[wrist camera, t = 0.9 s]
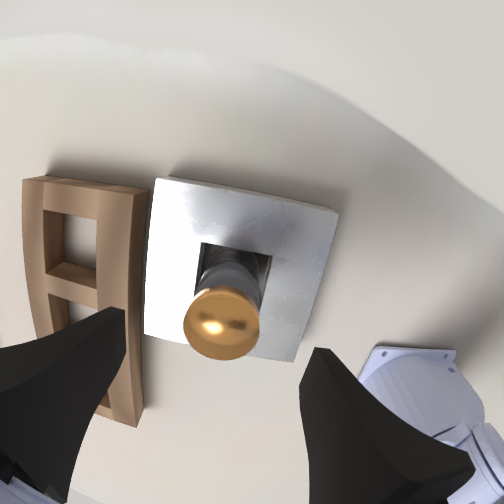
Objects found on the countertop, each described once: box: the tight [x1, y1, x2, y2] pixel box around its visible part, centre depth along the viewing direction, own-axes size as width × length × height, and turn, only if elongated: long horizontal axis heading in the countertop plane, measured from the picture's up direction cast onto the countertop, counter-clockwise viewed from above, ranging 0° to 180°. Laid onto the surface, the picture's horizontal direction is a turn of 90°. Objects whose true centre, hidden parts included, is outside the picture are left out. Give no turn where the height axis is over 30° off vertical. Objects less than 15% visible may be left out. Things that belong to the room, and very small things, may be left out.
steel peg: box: [183, 246, 260, 360], centre depth 15 cm, size 3×3×7 cm
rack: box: [22, 176, 150, 428], centre depth 18 cm, size 9×20×2 cm, turn 169°
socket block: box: [144, 176, 339, 362], centre depth 17 cm, size 10×10×2 cm
